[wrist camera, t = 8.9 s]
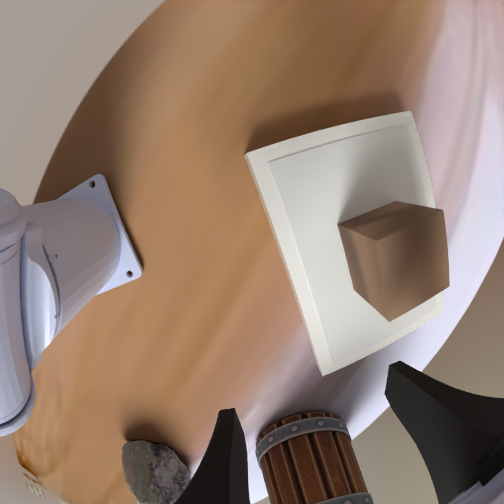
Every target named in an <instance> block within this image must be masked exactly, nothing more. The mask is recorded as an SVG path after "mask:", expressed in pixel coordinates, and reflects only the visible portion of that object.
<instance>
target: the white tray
mask: <svg viewBox="0 0 504 504" xmlns="http://www.w3.org/2000/svg"><path fill="white" fill-rule="evenodd" d="M244 157H245V160H246V162H247V165H248V168H249V170H250V173H251V176H252V178H253V181H254V184H255V186H256V189H257V192H258V195H259V197H260V200H261V203H262V205H263V208H264V211H265V214H266V217H267V219H268V222H269V225H270V228H271V230H272V233H273V236H274V239H275V242H276V245H277V247H278V250H279V253H280V256H281V259H282V262H283V265H284V268H285V270H286V273H287V276H288V279H289V282H290V285H291V288H292V291H293V294H294V297H295V300H296V303H297V306H298V309H299V312H300V315H301V318H302V321H303V324H304V327H305V330H306V333H307V336H308V339H309V343H310V346H311V349H312V352H313V355H314V358H315V361H316V364H317V366H318V368H319V370H320V372H321V374H322V376H325V375H327V374H330V373H332V372H334V371H337V370H339V369H341V368H343V367H345V366H348V365H350V364H352V363H354V362H356V361H358V360H360V359H362V358H364V357H366V356H368V355H370V354H372V353H374V352H376V351H378V350H380V349H382V348H384V347H386V346H388V345H389V344H391V343H393V342H395V341H397V340H399V339H400V338H402V337H404V336H406V335H407V334H409V333H411V332H412V331H414V330H416V329H417V328H419V327H421V326H422V325H424V324H425V323H427V322H429V321H430V320H432V319H433V318H435V317H436V316H438V315H439V314H441V313H442V312H443V291H441V292H440V293H438V294H437V295H435V296H433V297H432V298H430V299H429V300H427V301H425V302H424V303H422V304H420V305H419V306H417V307H415V308H414V309H412V310H410V311H409V312H407V313H405V314H403V315H402V316H400V317H398V318H396V319H394V320H392V321H391V322H388V321H387V320H386V319H385V318H384V317H383V316H382V315H381V314H380V313H379V312H378V311H377V310H375V309H374V308H373V307H372V306H371V305H370V304H369V303H368V302H367V301H366V300H364V299H363V298H362V297H361V296H360V295H359V294H358V293H357V292H356V291H354V289H353V285H352V280H351V276H350V272H349V268H348V264H347V260H346V256H345V252H344V248H343V244H342V240H341V237H340V233H339V229H338V226H337V224H339V223H341V222H344V221H346V220H349V219H352V218H354V217H357V216H359V215H362V214H364V213H367V212H369V211H372V210H374V209H377V208H379V207H382V206H384V205H387V204H389V203H392V202H394V201H400V202H405V203H411V204H416V205H421V206H426V207H431V208H436V207H435V201H434V195H433V190H432V185H431V180H430V176H429V171H428V167H427V163H426V159H425V155H424V151H423V148H422V144H421V140H420V137H419V134H418V130H417V127H416V124H415V121H414V118H413V115H412V112H411V111H405V112H400V113H394V114H389V115H383V116H378V117H373V118H369V119H364V120H360V121H355V122H351V123H347V124H342V125H338V126H334V127H330V128H327V129H323V130H319V131H315V132H312V133H308V134H305V135H301V136H298V137H294V138H291V139H288V140H284V141H281V142H278V143H275V144H272V145H269V146H266V147H263V148H260V149H257V150H254V151H251V152H248V153H246V154H245V156H244Z"/></svg>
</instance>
